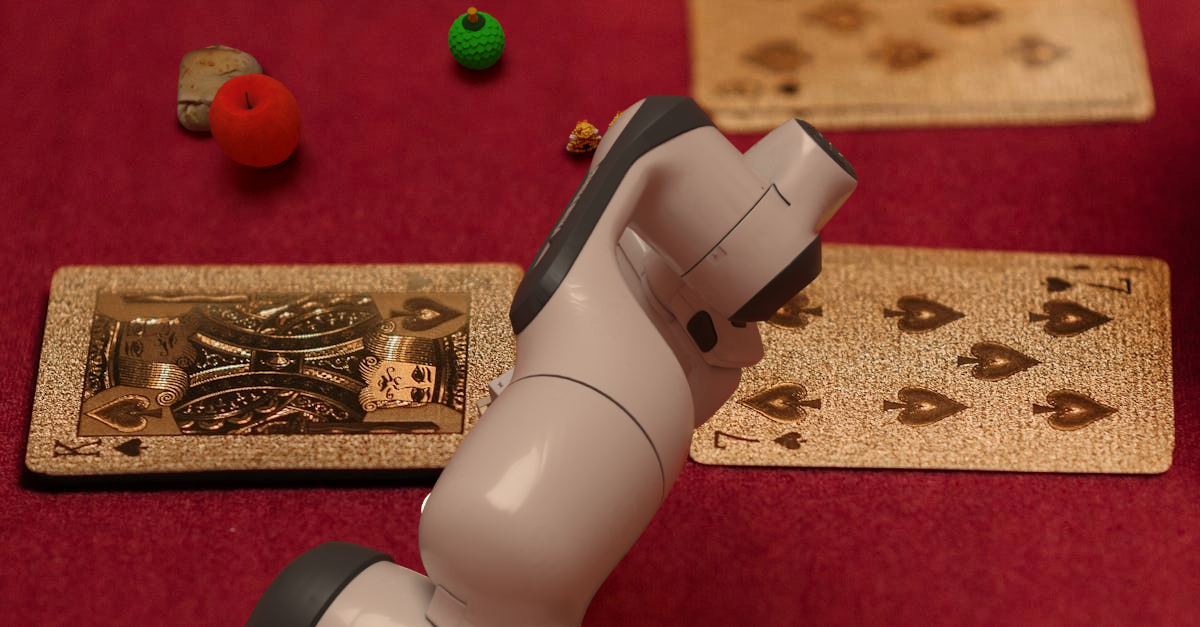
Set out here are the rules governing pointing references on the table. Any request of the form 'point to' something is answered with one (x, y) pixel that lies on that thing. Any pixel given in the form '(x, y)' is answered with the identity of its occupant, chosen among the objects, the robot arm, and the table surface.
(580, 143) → the figurine set
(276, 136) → the apple
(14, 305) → the table surface
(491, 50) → the ornament
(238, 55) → the pastry
